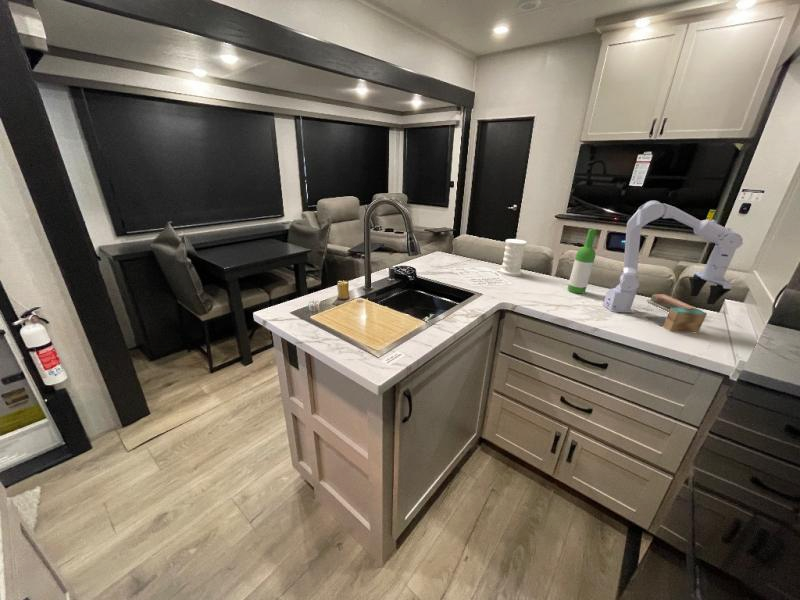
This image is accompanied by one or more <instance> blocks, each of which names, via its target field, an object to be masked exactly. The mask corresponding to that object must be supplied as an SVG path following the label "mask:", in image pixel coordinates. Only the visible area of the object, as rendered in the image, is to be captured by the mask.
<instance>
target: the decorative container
mask: <svg viewBox="0 0 800 600" xmlns="http://www.w3.org/2000/svg"><path fill="white" fill-rule="evenodd" d="M505 244H506V245H505V246H504V249H505V250H504V253H503V255H504V256H503V259H502V260H503V261H502V264H501V265H502V267H501V268H499V269H500V270H499V273H501V274H502V275H505V276H509V277H520V276H521V275H522V270H521V268H522V263H523V258H524V255H525V254H524V251H525V246H526V245H528V244H527V241H526V240H524V239H518V238H507V239H505Z"/></svg>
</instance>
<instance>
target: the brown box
mask: <svg viewBox="0 0 800 600" xmlns="http://www.w3.org/2000/svg"><path fill="white" fill-rule="evenodd" d="M666 317H667V318H666V320H665V323H664V325H663V326H662V327H663V328H665V329H666V330H668V331H669V332H679V333H693V332H696V333H697V334H698V333H699V331H700V329H701V327H702V325H703V323H704V321H705V319H706V317H707V313H706V312H705V311H703V310H701V309H699V308H697V309H686V308H670V311H669V313H667V316H666Z"/></svg>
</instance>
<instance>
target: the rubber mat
mask: <svg viewBox="0 0 800 600" xmlns="http://www.w3.org/2000/svg"><path fill="white" fill-rule="evenodd" d="M666 318H667V316H653V315H650V316H649V315H646V319H649V320H650V321H651V322H653V323H654V324H656V325H657V326H659V327H663V325H664V323H665V320H666Z"/></svg>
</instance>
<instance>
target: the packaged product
mask: <svg viewBox="0 0 800 600" xmlns="http://www.w3.org/2000/svg"><path fill="white" fill-rule="evenodd" d="M646 301H647V302H648V303H647V302H646V303H647V304H649V303H650V304H649V305H651V304H652V305H651V306H653V305H654V306H653V307H655V306H656V307H655V308H657V307H659V308H661V309H663V310H665V311H667V312H669V311H670V308H686V309H698V308H697V307H694V306H693V305H690V304H689V303H685V302H684V301H681V300H679V299H676V298H674V297H672V296H669V295H667V294H664V293H660V294H659V293H657V294H656V293H655V294H652V296H651V298H650V299H647V300H646ZM659 308H658V309H659ZM661 309H660V310H661ZM663 310H662V311H663ZM665 311H664V312H665ZM667 312H666V313H667Z"/></svg>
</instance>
